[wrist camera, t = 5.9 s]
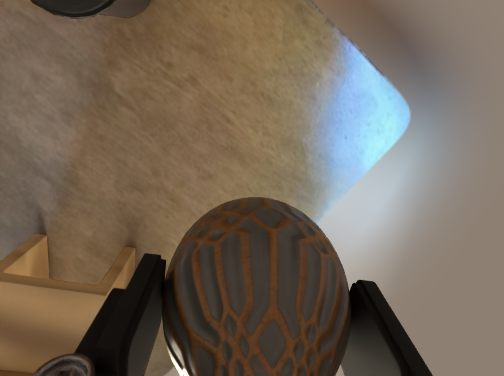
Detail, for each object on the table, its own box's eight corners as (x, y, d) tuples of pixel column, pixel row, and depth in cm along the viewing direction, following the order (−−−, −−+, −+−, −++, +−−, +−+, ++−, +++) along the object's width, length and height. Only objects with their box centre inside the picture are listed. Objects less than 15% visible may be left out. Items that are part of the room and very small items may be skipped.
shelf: (36, 233, 34) (-44, 294, 25) (135, 247, 35) (95, 312, 26) (42, 315, 38) (-24, 394, 29) (131, 326, 39) (95, 407, 30)
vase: (336, 272, 16) (435, 485, 8) (216, 312, 17) (192, 543, 9) (296, 155, 14) (378, 283, 5) (158, 207, 14) (47, 389, 6)
